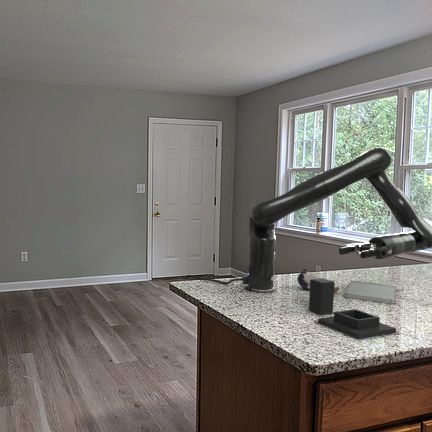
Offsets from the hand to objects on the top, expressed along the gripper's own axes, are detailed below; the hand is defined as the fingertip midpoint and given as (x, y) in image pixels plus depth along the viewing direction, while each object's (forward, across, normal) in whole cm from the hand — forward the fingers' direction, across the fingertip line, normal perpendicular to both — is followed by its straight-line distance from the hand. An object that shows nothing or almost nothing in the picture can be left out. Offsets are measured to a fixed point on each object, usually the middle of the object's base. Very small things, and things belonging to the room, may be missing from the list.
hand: (350, 253), depth 140 cm
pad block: (+13, 0, +17) cm, 21 cm away
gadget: (-22, -11, +20) cm, 32 cm away
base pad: (+15, +15, +17) cm, 27 cm away
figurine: (-6, -22, +18) cm, 29 cm away
